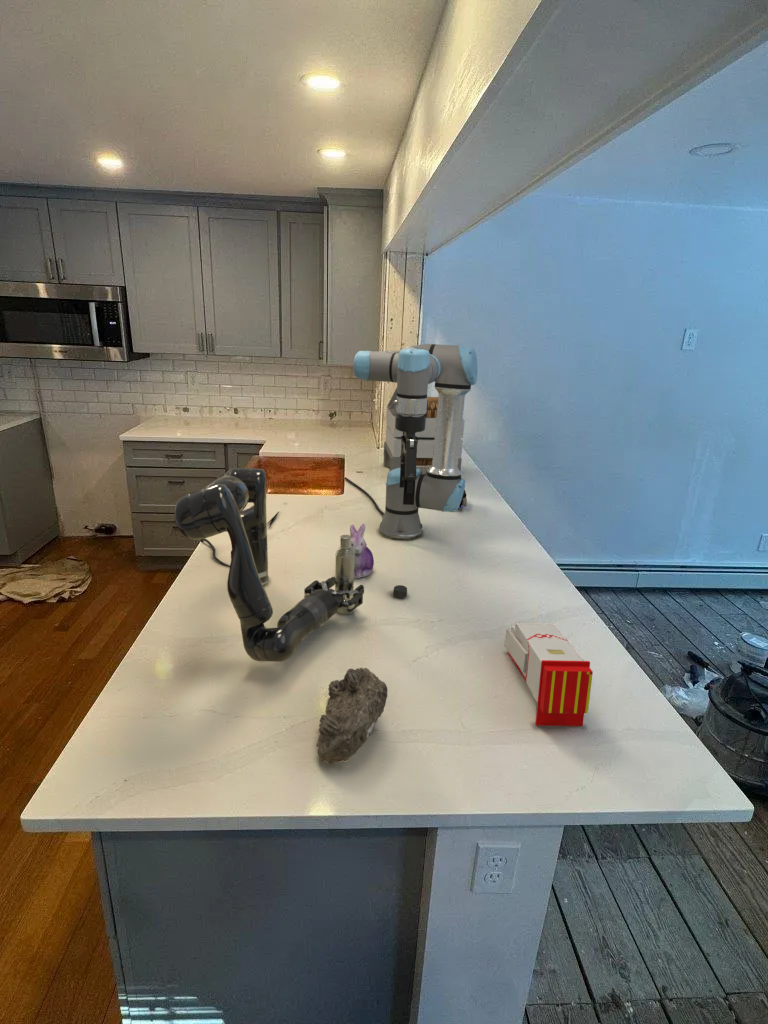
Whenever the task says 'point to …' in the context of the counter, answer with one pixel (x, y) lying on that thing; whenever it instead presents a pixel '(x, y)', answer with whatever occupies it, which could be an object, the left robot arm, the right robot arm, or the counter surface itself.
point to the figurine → (361, 553)
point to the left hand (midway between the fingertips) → (348, 584)
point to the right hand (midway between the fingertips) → (406, 495)
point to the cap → (400, 592)
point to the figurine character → (463, 500)
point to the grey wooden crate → (424, 438)
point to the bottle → (344, 569)
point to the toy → (551, 672)
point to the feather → (272, 520)
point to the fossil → (350, 714)
